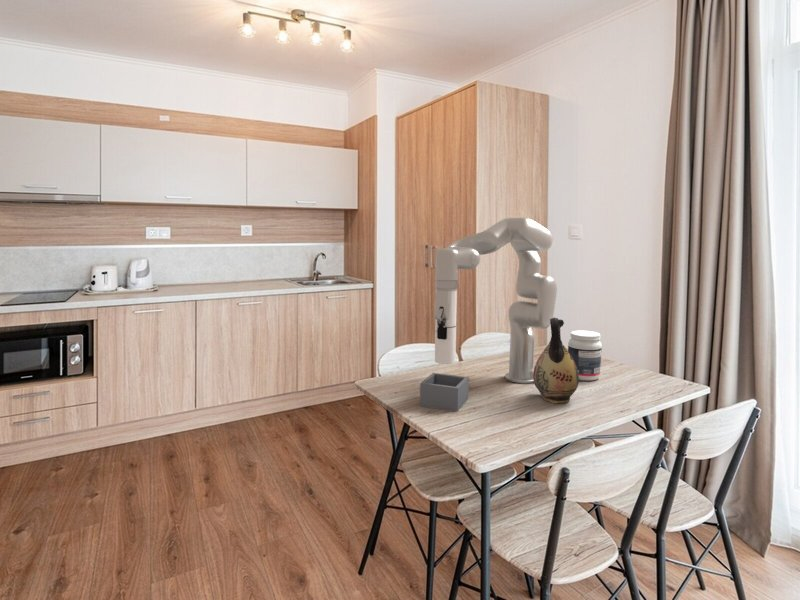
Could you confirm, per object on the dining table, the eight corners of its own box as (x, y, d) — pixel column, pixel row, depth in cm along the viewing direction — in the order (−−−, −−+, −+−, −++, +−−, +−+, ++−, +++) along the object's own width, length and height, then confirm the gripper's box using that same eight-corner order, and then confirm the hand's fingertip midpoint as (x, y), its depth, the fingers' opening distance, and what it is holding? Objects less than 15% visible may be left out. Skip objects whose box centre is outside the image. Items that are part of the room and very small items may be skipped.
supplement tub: (564, 371, 208) (566, 329, 205) (595, 373, 206) (598, 330, 203) (569, 380, 195) (572, 335, 193) (603, 382, 193) (606, 337, 191)
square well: (468, 398, 174) (468, 377, 173) (457, 411, 162) (458, 388, 161) (432, 393, 180) (433, 372, 179) (419, 405, 167) (420, 383, 166)
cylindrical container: (454, 364, 165) (456, 291, 161) (433, 363, 166) (434, 290, 162) (456, 359, 172) (457, 288, 168) (436, 358, 173) (437, 287, 169)
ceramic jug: (535, 389, 185) (538, 311, 180) (578, 395, 179) (583, 314, 174) (528, 404, 169) (532, 319, 165) (576, 411, 163) (581, 322, 159)
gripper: (443, 282, 174) (443, 331, 177) (427, 287, 159) (426, 340, 161) (464, 283, 171) (463, 332, 174) (449, 288, 156) (448, 343, 158)
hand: (445, 336), depth 168 cm, fingers closed on cylindrical container, 7 cm apart
